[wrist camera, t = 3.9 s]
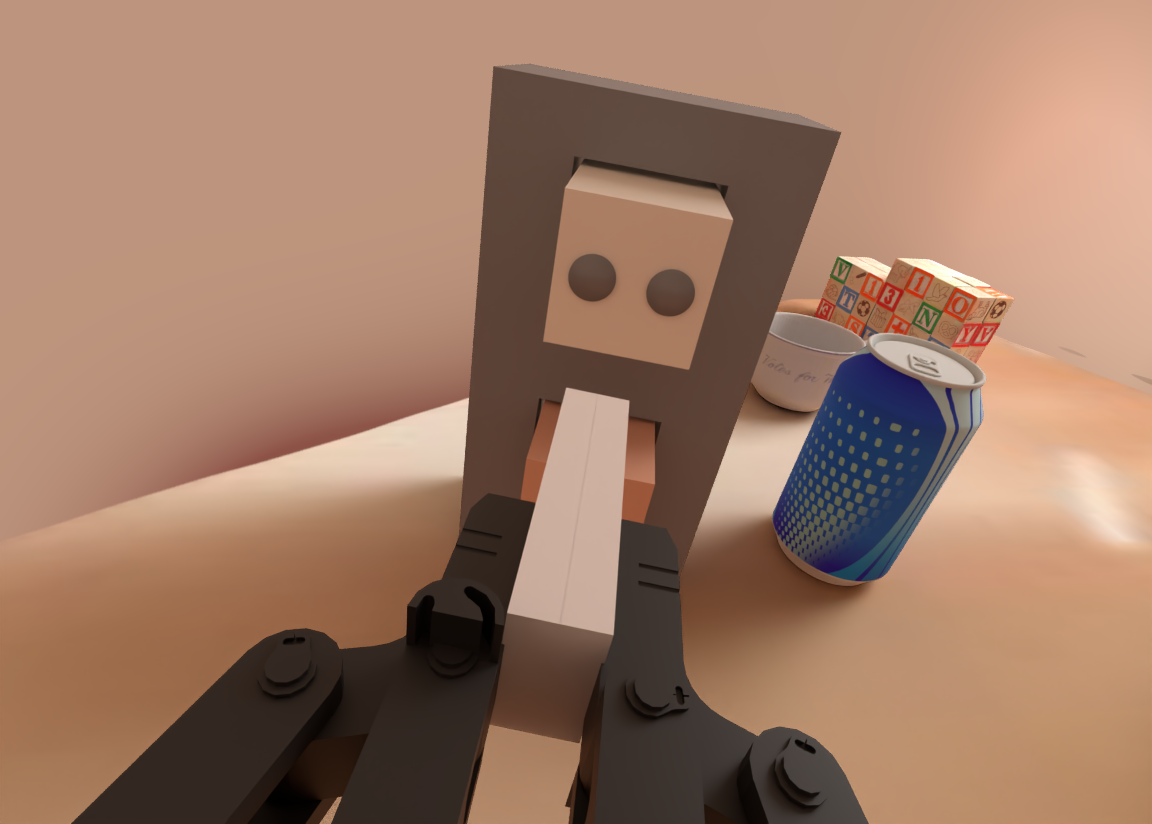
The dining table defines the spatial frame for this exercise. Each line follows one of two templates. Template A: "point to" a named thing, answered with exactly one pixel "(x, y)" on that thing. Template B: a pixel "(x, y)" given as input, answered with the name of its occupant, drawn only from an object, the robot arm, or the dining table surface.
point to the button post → (527, 254)
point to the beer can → (877, 456)
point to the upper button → (635, 262)
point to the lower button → (636, 462)
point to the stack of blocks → (913, 303)
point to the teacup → (802, 360)
